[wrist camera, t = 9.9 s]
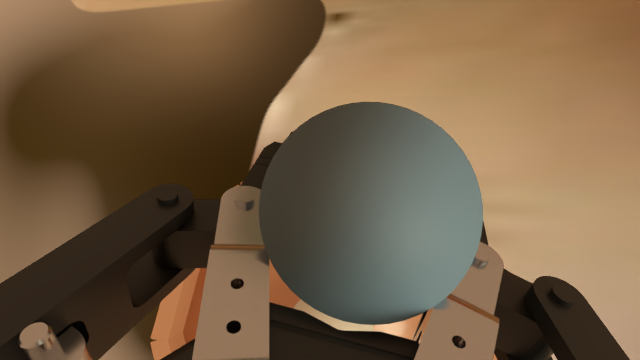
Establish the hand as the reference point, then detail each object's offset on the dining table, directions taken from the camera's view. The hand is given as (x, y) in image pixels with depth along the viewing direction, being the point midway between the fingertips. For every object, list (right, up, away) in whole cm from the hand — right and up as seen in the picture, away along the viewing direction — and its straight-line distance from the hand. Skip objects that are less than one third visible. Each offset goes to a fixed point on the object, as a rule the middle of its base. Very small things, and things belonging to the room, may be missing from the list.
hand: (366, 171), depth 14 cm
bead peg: (0, -2, +4) cm, 4 cm away
